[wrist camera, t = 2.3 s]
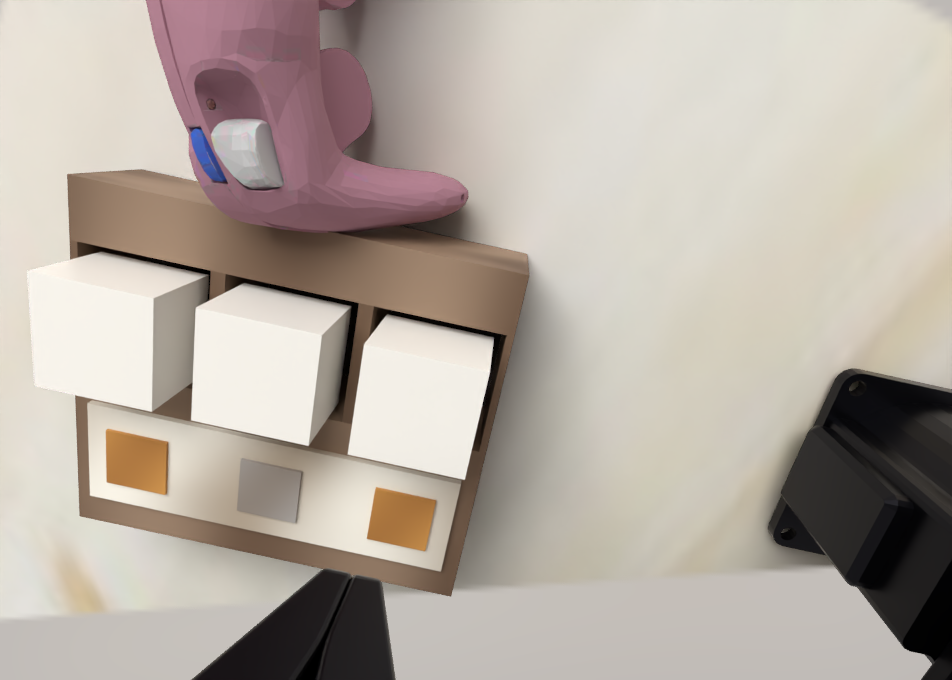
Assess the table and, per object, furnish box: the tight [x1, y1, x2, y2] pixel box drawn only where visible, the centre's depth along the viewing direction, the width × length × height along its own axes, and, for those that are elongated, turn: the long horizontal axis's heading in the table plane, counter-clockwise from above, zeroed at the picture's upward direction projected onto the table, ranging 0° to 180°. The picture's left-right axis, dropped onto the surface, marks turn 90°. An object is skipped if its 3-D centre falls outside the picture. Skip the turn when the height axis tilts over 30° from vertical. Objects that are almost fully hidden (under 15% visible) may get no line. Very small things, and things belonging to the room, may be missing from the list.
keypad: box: [67, 169, 529, 596], centre depth 17 cm, size 12×11×3 cm
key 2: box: [348, 314, 494, 480], centre depth 15 cm, size 3×3×2 cm
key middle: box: [191, 283, 352, 446], centre depth 15 cm, size 3×3×2 cm
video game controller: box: [146, 0, 468, 233], centre depth 13 cm, size 10×5×7 cm, turn 1°
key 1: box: [27, 252, 209, 412], centre depth 15 cm, size 3×3×2 cm
